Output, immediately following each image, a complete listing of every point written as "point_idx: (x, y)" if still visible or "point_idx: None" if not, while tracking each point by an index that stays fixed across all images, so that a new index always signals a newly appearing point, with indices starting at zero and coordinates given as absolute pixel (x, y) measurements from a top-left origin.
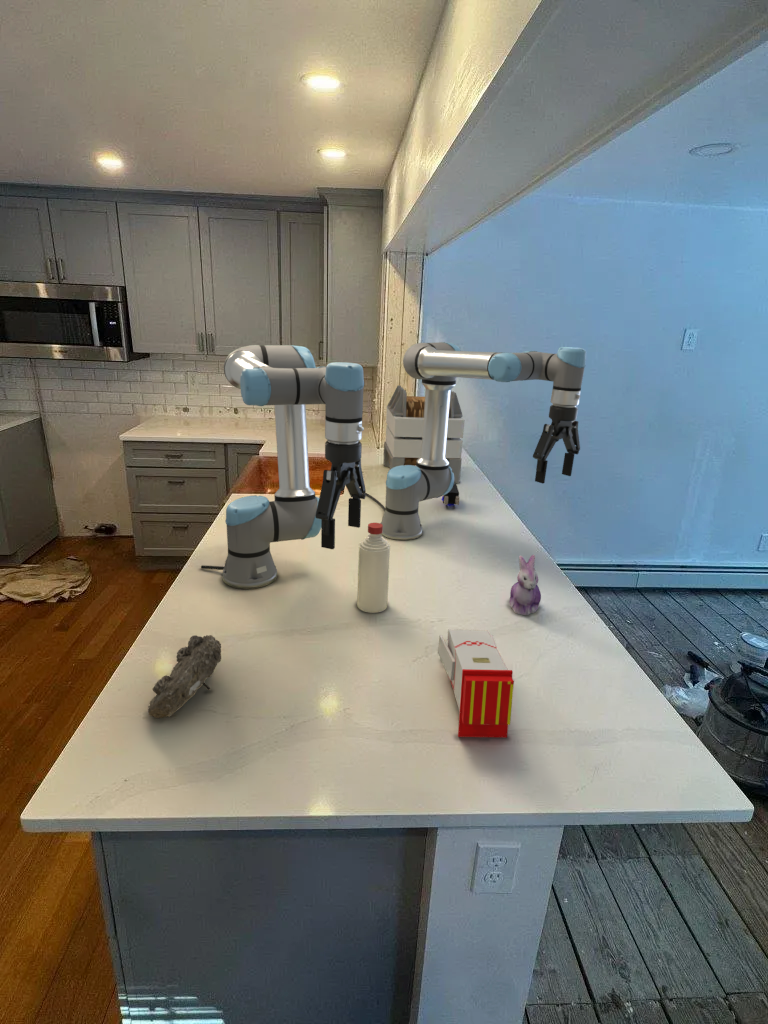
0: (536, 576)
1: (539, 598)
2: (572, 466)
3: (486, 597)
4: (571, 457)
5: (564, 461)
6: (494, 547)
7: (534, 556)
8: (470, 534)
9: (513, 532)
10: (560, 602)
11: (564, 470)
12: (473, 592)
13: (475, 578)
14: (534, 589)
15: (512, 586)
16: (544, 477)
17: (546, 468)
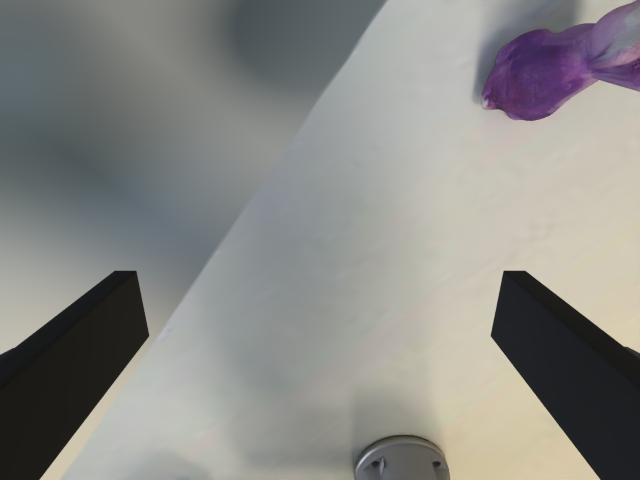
0: (636, 8)
1: (540, 29)
2: (56, 316)
3: (541, 165)
4: (1, 406)
5: (78, 417)
6: (290, 322)
7: (638, 43)
8: (278, 394)
9: (174, 351)
10: (430, 26)
11: (128, 340)
12: (540, 200)
13: (472, 243)
14: (584, 28)
15: (554, 111)
16: (542, 295)
17: (596, 348)
